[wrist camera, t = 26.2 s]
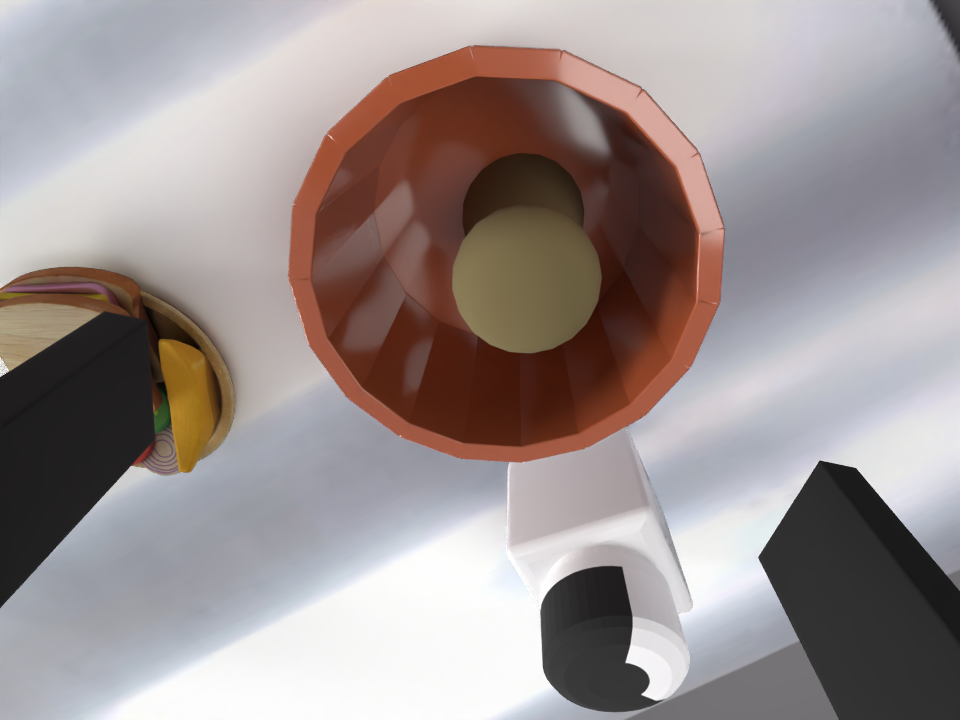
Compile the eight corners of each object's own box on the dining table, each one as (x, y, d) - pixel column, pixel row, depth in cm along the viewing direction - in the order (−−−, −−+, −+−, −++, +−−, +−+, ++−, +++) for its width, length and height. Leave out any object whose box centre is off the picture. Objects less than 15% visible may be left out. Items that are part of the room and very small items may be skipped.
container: (552, 544, 39) (567, 746, 27) (505, 460, 36) (501, 649, 24) (663, 511, 37) (729, 713, 26) (624, 419, 34) (679, 603, 22)
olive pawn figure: (582, 146, 27) (622, 195, 17) (585, 269, 29) (620, 373, 20) (454, 159, 27) (421, 214, 17) (469, 279, 30) (447, 385, 20)
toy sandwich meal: (60, 445, 37) (3, 494, 33) (1, 244, 31) (-80, 273, 27) (250, 468, 37) (217, 519, 33) (230, 272, 31) (185, 305, 27)
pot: (312, 114, 27) (206, 142, 18) (624, 0, 24) (691, -36, 15) (419, 373, 33) (383, 494, 24) (677, 306, 30) (748, 414, 21)
